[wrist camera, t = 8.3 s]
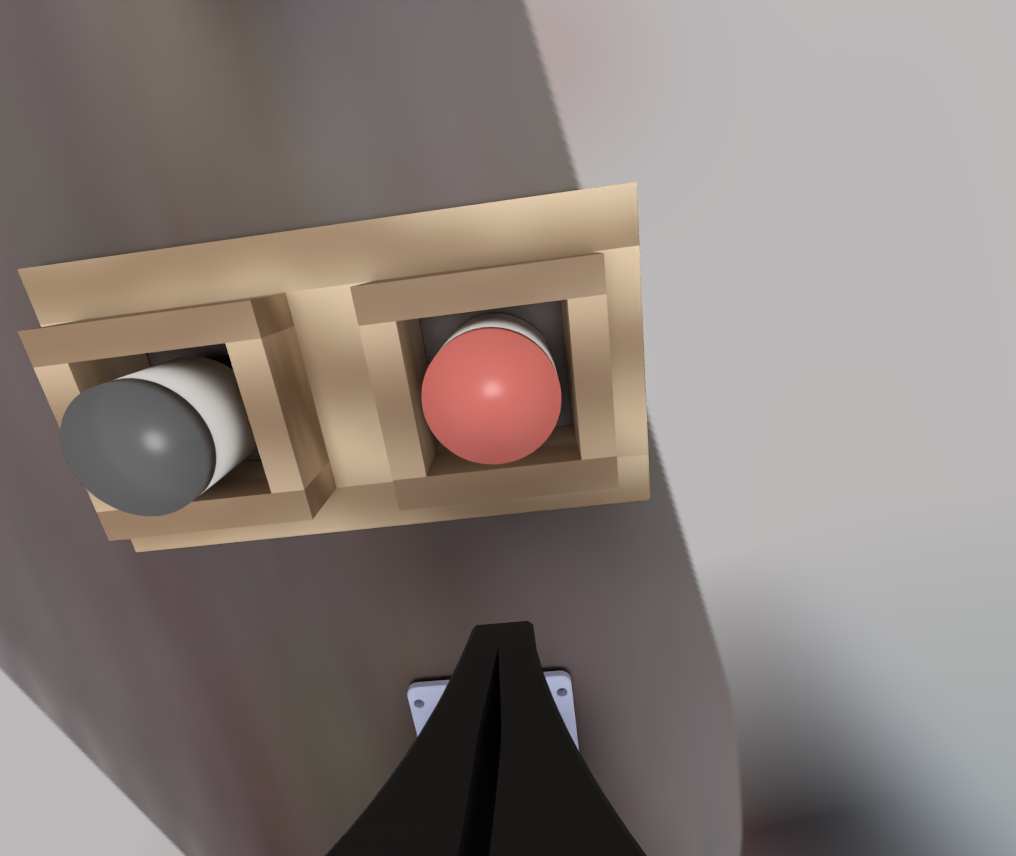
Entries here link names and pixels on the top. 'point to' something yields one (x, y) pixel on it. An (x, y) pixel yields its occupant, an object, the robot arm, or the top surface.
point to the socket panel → (366, 360)
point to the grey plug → (157, 435)
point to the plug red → (492, 390)
